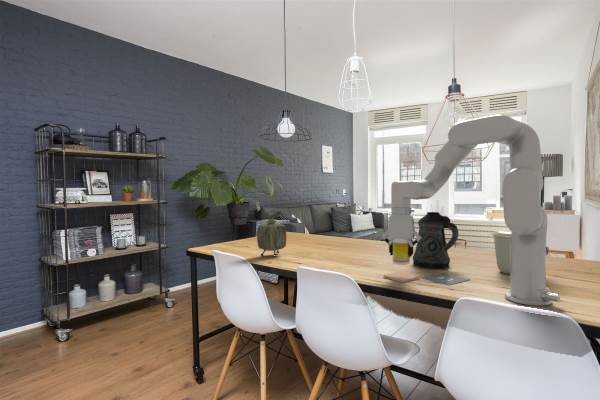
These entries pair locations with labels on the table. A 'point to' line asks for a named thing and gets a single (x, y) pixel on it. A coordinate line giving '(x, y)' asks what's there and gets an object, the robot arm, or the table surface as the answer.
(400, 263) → the supplement bottle
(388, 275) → the coaster pad
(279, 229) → the tabletop clock
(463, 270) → the table surface
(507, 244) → the canister
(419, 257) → the beer stein
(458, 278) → the tile
